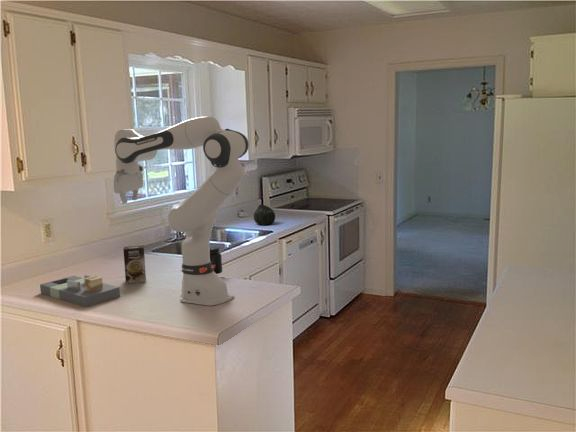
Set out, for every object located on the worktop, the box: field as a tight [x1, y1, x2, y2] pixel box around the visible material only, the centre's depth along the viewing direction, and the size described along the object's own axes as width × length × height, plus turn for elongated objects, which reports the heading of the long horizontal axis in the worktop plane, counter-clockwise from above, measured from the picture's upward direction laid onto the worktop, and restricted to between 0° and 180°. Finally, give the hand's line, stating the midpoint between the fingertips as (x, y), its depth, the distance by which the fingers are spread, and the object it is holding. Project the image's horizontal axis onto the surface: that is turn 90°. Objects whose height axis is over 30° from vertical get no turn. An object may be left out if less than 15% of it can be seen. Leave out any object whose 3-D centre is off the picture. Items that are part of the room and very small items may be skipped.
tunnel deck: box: [39, 274, 121, 308], centre depth 228 cm, size 34×16×8 cm, turn 53°
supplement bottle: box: [209, 246, 223, 275], centre depth 256 cm, size 7×7×12 cm
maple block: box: [83, 275, 103, 292], centre depth 221 cm, size 5×5×5 cm
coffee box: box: [123, 244, 147, 285], centre depth 245 cm, size 9×6×16 cm
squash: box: [253, 204, 276, 226], centre depth 380 cm, size 14×15×15 cm
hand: (129, 201), depth 227 cm, fingers open, 8 cm apart
